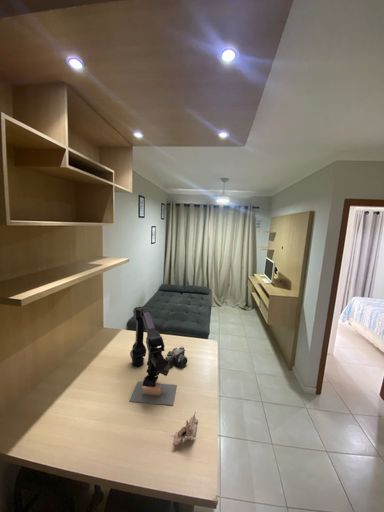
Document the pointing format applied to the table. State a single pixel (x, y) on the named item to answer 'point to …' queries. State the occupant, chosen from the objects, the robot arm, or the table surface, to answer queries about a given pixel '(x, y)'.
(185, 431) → the bone fragment
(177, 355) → the camera
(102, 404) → the table surface
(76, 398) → the table surface
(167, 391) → the mat
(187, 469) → the table surface
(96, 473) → the table surface
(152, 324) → the robot arm
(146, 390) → the block
